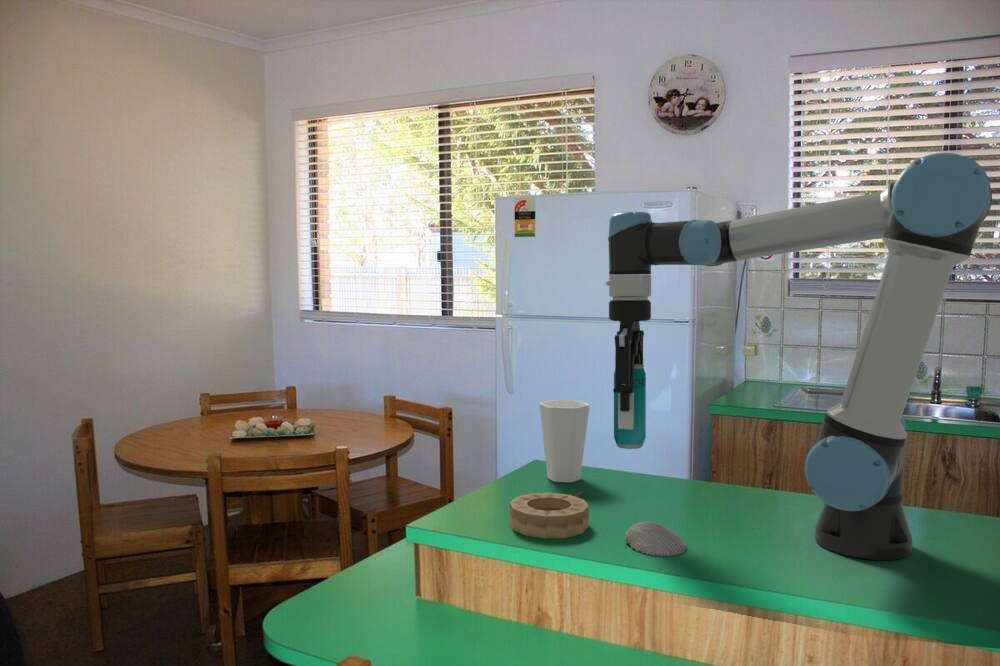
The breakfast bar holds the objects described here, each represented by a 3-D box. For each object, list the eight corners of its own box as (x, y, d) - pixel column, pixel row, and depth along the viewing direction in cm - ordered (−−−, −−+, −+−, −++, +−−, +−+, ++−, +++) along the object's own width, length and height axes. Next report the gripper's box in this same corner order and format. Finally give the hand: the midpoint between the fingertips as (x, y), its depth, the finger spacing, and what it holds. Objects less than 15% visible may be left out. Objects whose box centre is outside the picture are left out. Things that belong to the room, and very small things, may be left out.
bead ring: (595, 518, 146) (595, 498, 145) (574, 542, 133) (574, 519, 133) (526, 509, 151) (526, 489, 151) (499, 532, 138) (499, 510, 138)
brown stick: (582, 494, 161) (582, 492, 161) (562, 514, 148) (562, 511, 148) (578, 494, 162) (578, 491, 162) (558, 513, 149) (558, 510, 149)
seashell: (622, 517, 138) (678, 509, 136) (628, 547, 138) (685, 539, 136) (621, 535, 128) (682, 526, 126) (628, 567, 128) (688, 559, 126)
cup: (590, 474, 178) (591, 401, 177) (586, 486, 168) (587, 408, 167) (542, 471, 180) (542, 399, 179) (536, 483, 170) (536, 406, 169)
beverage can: (652, 447, 140) (652, 365, 139) (629, 451, 137) (629, 367, 136) (630, 441, 145) (630, 362, 144) (607, 445, 142) (607, 364, 141)
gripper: (621, 297, 149) (621, 415, 151) (596, 300, 132) (596, 433, 134) (660, 297, 147) (659, 418, 148) (639, 300, 129) (639, 436, 131)
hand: (629, 425), depth 141 cm, fingers closed on beverage can, 6 cm apart
